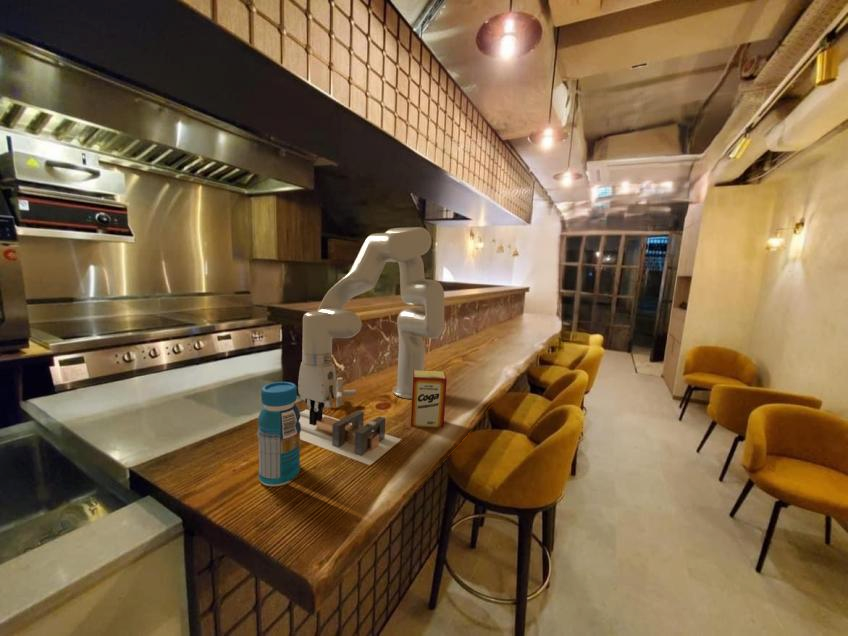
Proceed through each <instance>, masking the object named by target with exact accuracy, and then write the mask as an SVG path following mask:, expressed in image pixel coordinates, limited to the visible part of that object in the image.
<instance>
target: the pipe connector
mask: <svg viewBox="0 0 848 636" xmlns="http://www.w3.org/2000/svg"><path fill="white" fill-rule="evenodd" d="M343 380H344V379H343V377H336V385H337V394H336V398H335V399H336V401H335V403H336V404H335V405H336V406H337V407H342V406H343V400H344V399H343V397H350V396H356V395H357V394H356V393H357V392H356V389H345V390H343V389H344V388H343V385H344V384H343V383H344V381H343Z"/></svg>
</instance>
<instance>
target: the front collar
mask: <svg viewBox="0 0 848 636" xmlns="http://www.w3.org/2000/svg"><path fill="white" fill-rule="evenodd" d="M371 431H373V432H376V433H379V442H380V441H382V440H383V439H384V438H385V434H386V418H385V417H382V416H377V417H376V418H374V419H372V420H369V421H366V422H365V425H363V427H362V428H360V429H359V430H357V431H355V454H357V455H360V456H362V455H363V454H365V453H366V452H367V449H368V433H370V432H371Z"/></svg>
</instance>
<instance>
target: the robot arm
mask: <svg viewBox="0 0 848 636" xmlns="http://www.w3.org/2000/svg"><path fill="white" fill-rule="evenodd" d="M431 246H432V236H431V234H430V231H429V230H428V229H426V228H424V227H421V226H420V227H413V226H412V227H394V228H390V229H388V230H386V231H385V232H378V233H377V232H376V233H372V234H370V235H368V236H367V237H366V238H365V241H364V242H363V244H362V246H361V247H360V250H359V251H358V253H357V255H356V258H355V259H354V262H353V264H352V266H351V267H350V269H349V272H348V273H347V274H346V275H345V276H344V277H342V278H341V279H340V280H338V282H336V283H335V284H334V285H333V286H332V287H331V288H329V290H328V291H327V292H326V294H325V295H324V297H322V298H323V299H322V300H321V302H320V304H319V306H318V309H317V311H314V310H313V311H308V312H305V313H304V314H303V317H302V340H301V341H302V343H301V345H302V346H301V347H302V352H301V353H302V357H301V358H302V359H301V360H302V361H301V362H300V367H299V372H298V381H297V382H298V383H297V384H298V387H297V390H298V391H297V392H298V396H300V399H301V400H303V401H304V402H305V403H306V405H307V410H310V416H309V424H311V425H314V426H315V425H317V420H319V419H321V418H322V414H323V410H324V409H325V408H330V407H332V406H333V405H334V401H333V399H336V398H337V396H336V394H337V376H336V375H337V373H336V368H335V364H334V363H333V362H334V360H335V359H334V357H333V339H350V338H353V337H355V336H356V335H357V334H358V333H359V332H360V331H361V329H362V320H361V317H360V316H359V315H358V314H357V313H355V312H353V311H349V310H345V309H343V308H344V307H345V305H346V304H347V303H348V302H350V300H352V299H353V298H355V297H356V296H359V295H361V294H364V293H366V292H368V291H371V290H372V289H373V288H375V287H376V285H377V283H378V281H379V278H380V276H381V274H382V272H383V270H384V268H385V265H386V263H390V262H391V263H398V266H399V279H400V280H399V282H400V283H399V285H400V298H401V301H402V302H403V303H404V304H406V305H409V306H415V307H423V308H424V309H419V308H412V307H409V308H408V307H407V308H404V309H402V310H401V311H400V312H399V314H398V315H397V318H396V319H397V320H396V326H397V332H398V334H397V335H398V357H397V378H396V379H397V380H396V386H394V387H392V394H393V393H394V394H395V395H394V394H393V395H394V396H396V397H398V396H399V397H398V398H401V397H402V398H401V399H409V400H410V399H411V400H412V386H413V370H418V371H425V370H424V369H425V368H424V366H425V351H426V350H425V349H426V346H425V342H424V339H423V338H426V339H432V340H433V339H438V338H439V337H441V335H442V333H443V332H444V328H445V327H444V326H445V290H444V288H443V286H442V284H441V283H440V281H437V280H434V279H426V277H425V267H424V266H425V263H424V261H423V258H422V256H423V255H425V254H426V253H428V252H429V250H430V249H431Z"/></svg>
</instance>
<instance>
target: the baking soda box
mask: <svg viewBox="0 0 848 636" xmlns="http://www.w3.org/2000/svg"><path fill="white" fill-rule="evenodd" d="M447 381H448V380H447V375H446V372H445V371H440V370H439V371H438V370H423V371H418V370H413V386H412V399H411V405H410V406H411V407H410V408H411V411H410V427H418V428H419V427H421V428H443V429H444V427H445V426H444V423H445V411H446V409H445V408H446V398H447V397H446V396H447V395H446V394H447V383H448V382H447Z"/></svg>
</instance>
